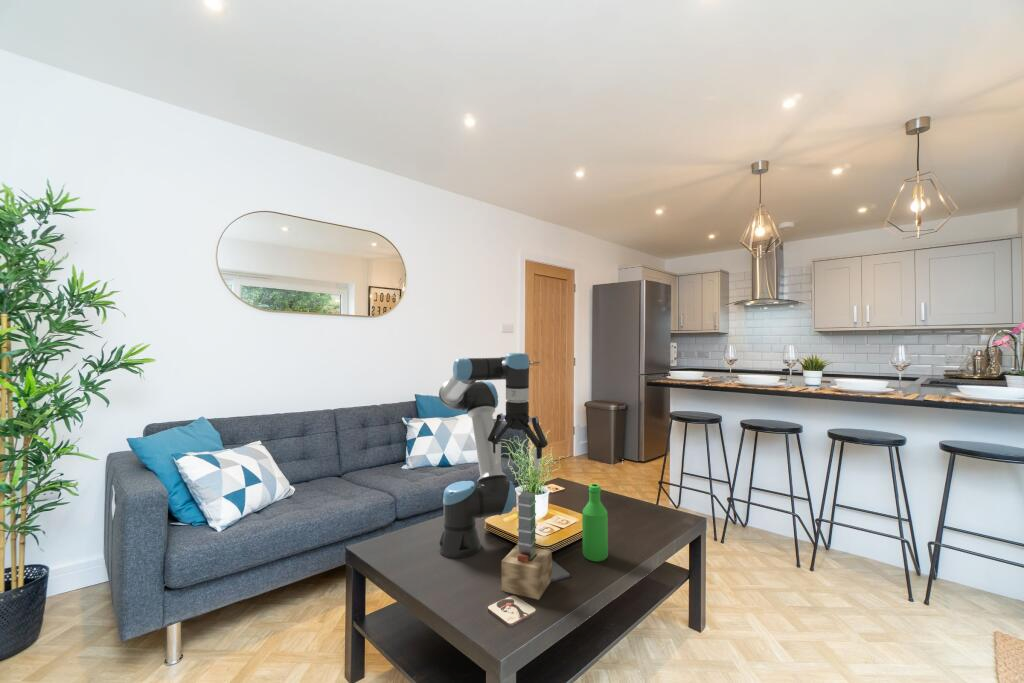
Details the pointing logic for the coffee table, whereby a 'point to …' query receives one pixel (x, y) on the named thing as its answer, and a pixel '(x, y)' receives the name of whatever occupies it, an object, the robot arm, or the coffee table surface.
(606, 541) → the bottle
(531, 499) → the column
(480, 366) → the robot arm
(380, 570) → the coffee table surface
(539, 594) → the housing
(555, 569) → the smartphone
